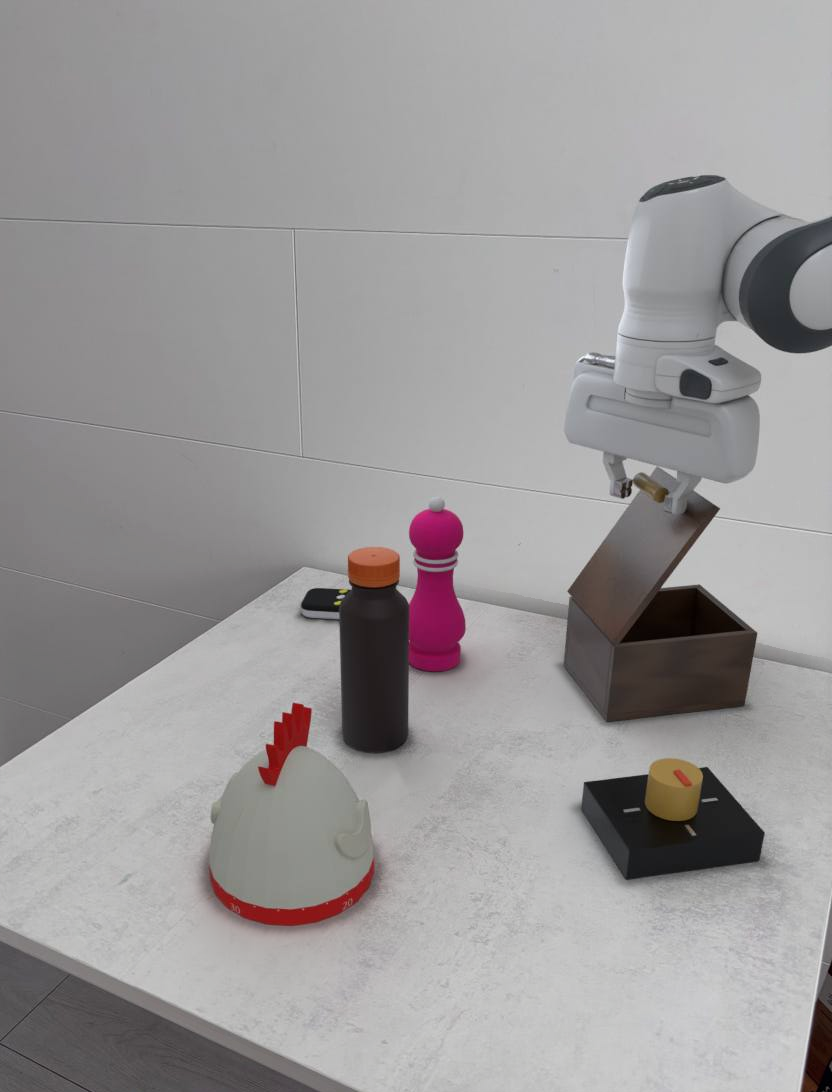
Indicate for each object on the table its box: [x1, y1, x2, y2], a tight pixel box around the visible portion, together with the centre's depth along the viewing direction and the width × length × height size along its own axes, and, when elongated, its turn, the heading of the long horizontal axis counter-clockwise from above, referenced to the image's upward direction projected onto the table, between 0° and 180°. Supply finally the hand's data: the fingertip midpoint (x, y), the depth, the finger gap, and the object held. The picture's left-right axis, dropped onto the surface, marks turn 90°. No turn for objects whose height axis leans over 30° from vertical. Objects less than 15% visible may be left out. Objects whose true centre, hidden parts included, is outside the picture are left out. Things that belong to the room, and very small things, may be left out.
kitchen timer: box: [208, 702, 375, 927], centre depth 84 cm, size 14×14×15 cm
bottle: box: [338, 546, 410, 753], centre depth 101 cm, size 7×7×20 cm
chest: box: [563, 584, 758, 723], centre depth 112 cm, size 16×13×9 cm
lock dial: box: [645, 757, 703, 821], centre depth 88 cm, size 4×4×4 cm
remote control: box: [300, 587, 352, 620], centre depth 132 cm, size 6×13×2 cm, turn 80°
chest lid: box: [566, 466, 721, 645], centre depth 105 cm, size 16×13×5 cm
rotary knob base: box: [580, 766, 766, 880], centre depth 90 cm, size 12×10×3 cm
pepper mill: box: [408, 495, 467, 673], centre depth 116 cm, size 7×7×20 cm
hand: (646, 504), depth 103 cm, fingers closed on chest lid, 5 cm apart
